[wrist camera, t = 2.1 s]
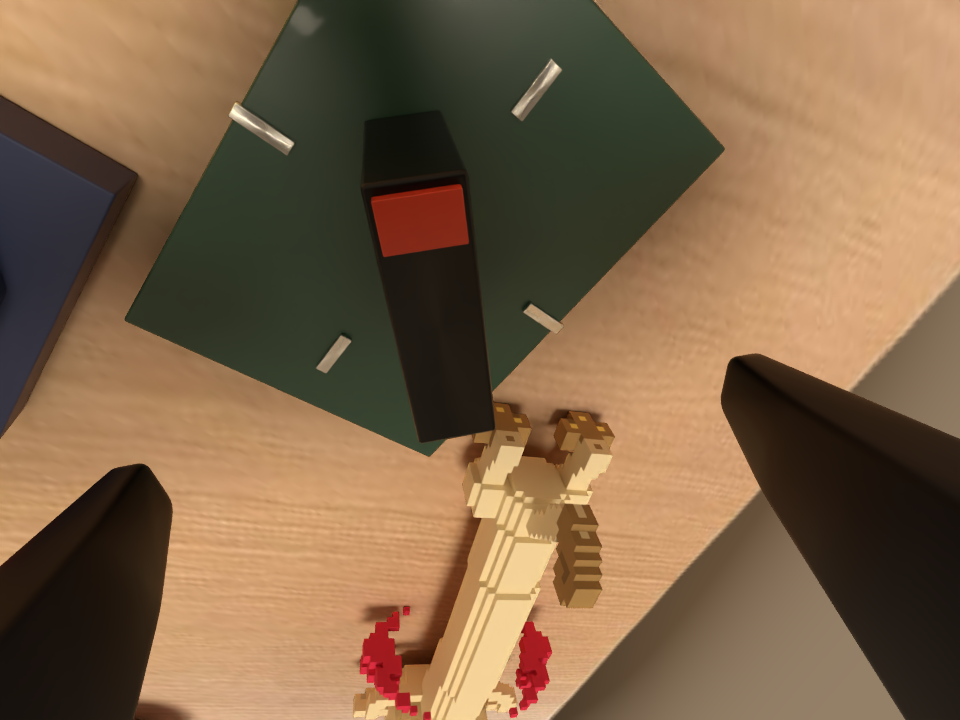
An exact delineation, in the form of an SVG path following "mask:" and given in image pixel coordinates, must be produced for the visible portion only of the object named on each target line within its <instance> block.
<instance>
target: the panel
mask: <svg viewBox="0 0 960 720" xmlns="http://www.w3.org/2000/svg"><path fill="white" fill-rule="evenodd" d="M437 110H438V111H441V113H442V115H443V117H444V119H445V122H446V124H447V126H448V128H449V131H450V133H451V135H452V138H453V140H454V142H455V144H456V147H457V149H458V151H459V154H460V156H461V158H462V160H463V163H464V165H465V167H466V169H467V172H468V176H469V185H470V194H471V204H472V213H473V222H474V231H475V240H476V249H477V258H478V268H479V277H480V286H481V295H482V304H483V313H484V322H485V332H486V341H487V350H488V359H489V368H490V377H491V387H492V391H493V390H494V389H495V388H496V387H497V386H498V385H499V384H500V383H501V382H502V381H503V380H504V379H505V378H506V377H507V376H508V375H509V374H510V373H511V372H512V371H513V370H514V369H515V368H516V367H517V366H518V364H519V363H520V362H521V361H522V360H523V359H524V358H525V357H526V356H527V355H528V354H529V353H530V352H531V351H532V350H533V349H534V348H535V347H536V346H537V345H538V344H539V343H540V342H541V341H542V340H543V339H544V337H545V336H546V335H547V334H548V333H549V332H550V331H552V332H553V333H555V334H557V333H558V332H559V331H560V330H561V329H562V328H563V327H564V325H563V323H561V322H560V321H561V320H562V319H563V318H564V317H565V316H566V315H567V314H568V313H569V311H570V310H571V309H572V308H573V307H574V306H575V305H576V304H577V303H578V302H579V301H580V300H581V299H582V298H583V297H584V296H585V295H586V294H587V293H588V292H589V291H590V290H591V289H592V288H593V287H594V286H595V284H596V283H597V282H598V281H599V280H600V279H601V278H602V277H603V276H604V275H605V274H606V273H607V272H608V271H609V270H610V269H611V268H612V267H613V266H614V265H615V264H616V263H617V262H618V261H619V260H620V259H621V257H622V256H623V255H624V254H625V253H626V252H627V251H628V250H629V249H630V248H631V247H632V246H633V245H634V244H635V243H636V242H637V241H638V240H639V239H640V238H641V237H642V236H643V235H644V234H645V233H646V231H647V230H648V229H649V228H650V227H651V226H652V225H653V224H654V223H655V222H656V221H657V220H658V219H659V218H660V217H661V216H662V215H663V214H664V213H665V212H666V211H667V210H668V209H669V208H670V207H671V206H672V204H673V203H674V202H675V201H676V200H677V199H678V198H679V197H680V196H681V195H682V194H683V193H684V192H685V191H686V190H687V189H688V188H689V187H690V186H691V185H692V184H693V183H694V182H695V181H696V180H697V179H698V177H699V176H700V175H701V174H702V173H703V172H704V171H705V170H706V169H707V168H708V167H709V166H710V165H711V164H712V163H713V162H714V161H715V160H716V159H717V158H718V157H719V156H720V155H721V154H722V153H723V151H724V150H725V148H724V147H723V145H722V144H721V143H720V142H719V141H718V140H717V139H716V138H715V136H714V135H713V134H712V133H711V132H710V131H709V130H708V129H707V127H706V126H705V125H704V124H703V123H702V122H701V121H700V120H699V119H698V117H697V116H696V115H695V114H694V113H693V112H692V111H691V110H690V108H689V107H688V106H687V105H686V104H685V103H684V102H683V101H682V99H681V98H680V97H679V96H678V95H677V94H676V93H675V92H674V90H673V89H672V88H671V87H670V86H669V85H668V84H667V83H666V82H665V80H664V79H663V78H662V77H661V76H660V75H659V74H658V73H657V71H656V70H655V69H654V68H653V67H652V66H651V65H650V64H649V62H648V61H647V60H646V59H645V58H644V57H643V56H642V55H641V54H640V52H639V51H638V50H637V49H636V48H635V47H634V46H633V45H632V43H631V42H630V41H629V40H628V39H627V38H626V37H625V36H624V34H623V33H622V32H621V31H620V30H619V29H618V28H617V27H616V26H615V24H614V23H613V22H612V21H611V20H610V19H609V18H608V17H607V15H606V14H605V13H604V12H603V11H602V10H601V9H600V8H599V6H598V5H597V4H596V3H595V2H594V1H593V0H297V2H296V4H295V6H294V8H293V9H292V11H291V13H290V15H289V17H288V19H287V20H286V22H285V24H284V26H283V28H282V30H281V31H280V33H279V35H278V37H277V39H276V41H275V42H274V44H273V46H272V48H271V50H270V52H269V54H268V55H267V57H266V59H265V61H264V63H263V65H262V66H261V68H260V70H259V72H258V74H257V76H256V77H255V79H254V81H253V83H252V85H251V87H250V88H249V90H248V92H247V94H246V96H245V98H244V99H243V101H242V103H239V102H238V101H236V102H235V103H234V105H233V107H232V109H231V111H230V113H229V115H228V117H230V118H231V119H233V120H232V122H231V123H230V125H229V127H228V129H227V131H226V133H225V134H224V136H223V138H222V140H221V142H220V144H219V145H218V147H217V149H216V151H215V153H214V155H213V157H212V158H211V160H210V162H209V164H208V166H207V168H206V169H205V171H204V173H203V175H202V177H201V179H200V180H199V182H198V184H197V186H196V188H195V190H194V191H193V193H192V195H191V197H190V199H189V201H188V202H187V204H186V206H185V208H184V210H183V212H182V214H181V215H180V217H179V219H178V221H177V223H176V225H175V226H174V228H173V230H172V232H171V234H170V236H169V237H168V239H167V241H166V243H165V245H164V247H163V248H162V250H161V252H160V254H159V256H158V258H157V260H156V261H155V263H154V265H153V267H152V269H151V271H150V272H149V274H148V276H147V278H146V280H145V282H144V283H143V285H142V287H141V289H140V291H139V293H138V294H137V296H136V298H135V300H134V302H133V304H132V305H131V307H130V309H129V311H128V313H127V315H126V317H125V321H126V322H128V323H131V324H133V325H135V326H137V327H140V328H142V329H144V330H146V331H148V332H151V333H153V334H155V335H157V336H160V337H162V338H164V339H166V340H169V341H171V342H173V343H175V344H178V345H180V346H182V347H184V348H187V349H189V350H191V351H193V352H195V353H198V354H200V355H202V356H204V357H207V358H209V359H211V360H213V361H216V362H218V363H220V364H222V365H225V366H227V367H229V368H231V369H234V370H236V371H238V372H240V373H243V374H245V375H247V376H249V377H251V378H254V379H256V380H258V381H260V382H263V383H265V384H267V385H269V386H272V387H274V388H276V389H278V390H281V391H283V392H285V393H287V394H290V395H292V396H294V397H296V398H298V399H301V400H303V401H305V402H307V403H310V404H312V405H314V406H316V407H319V408H321V409H323V410H325V411H328V412H330V413H332V414H334V415H337V416H339V417H341V418H343V419H345V420H348V421H350V422H352V423H354V424H357V425H359V426H361V427H363V428H366V429H368V430H370V431H372V432H375V433H377V434H379V435H381V436H384V437H386V438H388V439H390V440H393V441H395V442H397V443H399V444H401V445H404V446H406V447H408V448H410V449H413V450H415V451H417V452H419V453H422V454H424V455H426V456H428V457H430V456H431V455H432V454H433V453H434V452H435V451H436V450H437V449H438V448H439V447H440V446H441V444H442V443H443V442H444V441H445V440H446V439H445V440H439V441H434V442H428V443H420V442H419V441H418V438H417V433H416V429H415V425H414V420H413V416H412V412H411V407H410V403H409V399H408V394H407V390H406V386H405V381H404V377H403V372H402V368H401V364H400V359H399V355H398V351H397V346H396V342H395V338H394V333H393V329H392V325H391V320H390V316H389V312H388V307H387V303H386V299H385V294H384V290H383V286H382V281H381V277H380V273H379V268H378V264H377V260H376V255H375V251H374V246H373V242H372V238H371V233H370V229H369V225H368V220H367V216H366V212H365V207H364V203H363V199H362V194H361V190H360V187H361V168H362V149H363V130H364V122H365V121H367V120H373V119H381V118H388V117H395V116H402V115H409V114H416V113H423V112H430V111H437Z"/></svg>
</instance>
